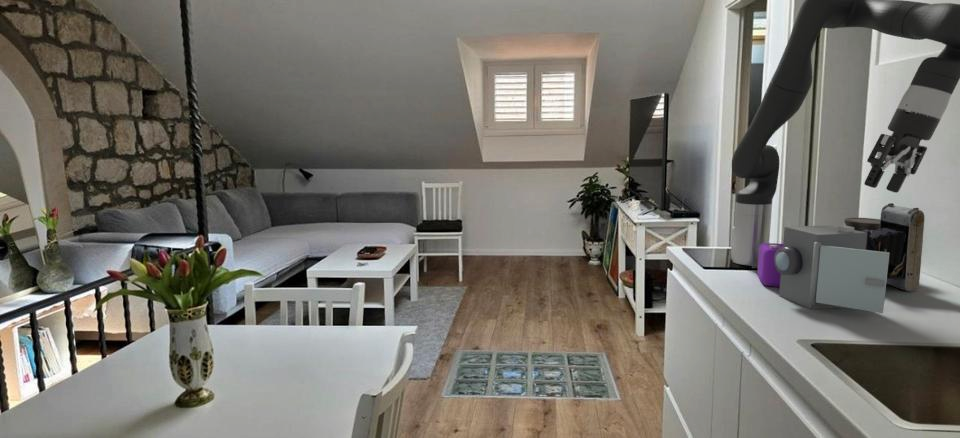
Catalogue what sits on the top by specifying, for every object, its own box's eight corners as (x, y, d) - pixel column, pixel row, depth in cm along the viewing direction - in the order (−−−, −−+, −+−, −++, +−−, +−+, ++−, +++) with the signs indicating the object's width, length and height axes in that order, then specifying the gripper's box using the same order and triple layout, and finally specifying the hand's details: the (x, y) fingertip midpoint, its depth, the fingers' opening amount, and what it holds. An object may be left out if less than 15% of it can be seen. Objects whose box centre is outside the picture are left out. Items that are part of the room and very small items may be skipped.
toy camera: (789, 275, 152) (792, 238, 151) (813, 290, 139) (817, 248, 137) (745, 274, 153) (748, 237, 152) (765, 289, 140) (768, 248, 138)
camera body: (768, 296, 133) (774, 222, 131) (825, 293, 136) (831, 220, 133) (799, 309, 124) (806, 230, 121) (860, 305, 126) (868, 228, 124)
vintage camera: (829, 284, 145) (835, 205, 142) (888, 281, 146) (895, 202, 143) (857, 296, 136) (864, 211, 132) (920, 292, 137) (928, 208, 133)
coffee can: (890, 279, 148) (896, 224, 146) (843, 275, 152) (848, 222, 150) (880, 270, 158) (886, 218, 156) (836, 267, 162) (841, 216, 159)
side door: (809, 302, 124) (814, 241, 122) (882, 314, 116) (889, 249, 114) (807, 304, 123) (813, 243, 121) (881, 316, 115) (888, 251, 113)
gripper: (917, 114, 122) (880, 187, 127) (881, 101, 115) (844, 178, 120) (956, 123, 116) (916, 199, 121) (921, 110, 109) (880, 191, 114)
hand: (880, 188), depth 120 cm, fingers open, 8 cm apart
